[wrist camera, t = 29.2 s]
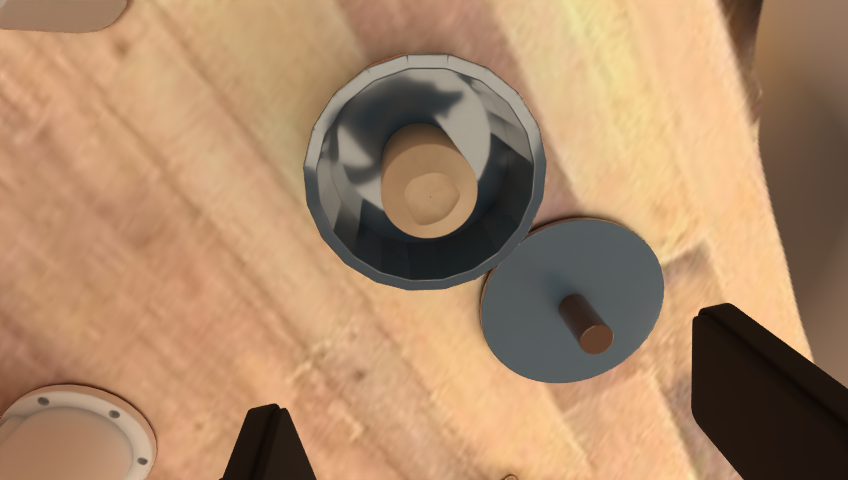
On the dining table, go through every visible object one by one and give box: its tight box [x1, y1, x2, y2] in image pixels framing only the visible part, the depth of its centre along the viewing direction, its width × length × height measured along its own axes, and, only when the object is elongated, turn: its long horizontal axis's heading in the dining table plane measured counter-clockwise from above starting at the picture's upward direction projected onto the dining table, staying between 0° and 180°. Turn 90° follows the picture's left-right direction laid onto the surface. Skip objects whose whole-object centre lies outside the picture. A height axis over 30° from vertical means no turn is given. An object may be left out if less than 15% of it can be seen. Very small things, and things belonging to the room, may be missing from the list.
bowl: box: [303, 53, 546, 290], centre depth 32 cm, size 15×15×7 cm
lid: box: [480, 218, 664, 383], centre depth 38 cm, size 16×16×6 cm
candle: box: [381, 123, 478, 238], centre depth 30 cm, size 6×6×10 cm
